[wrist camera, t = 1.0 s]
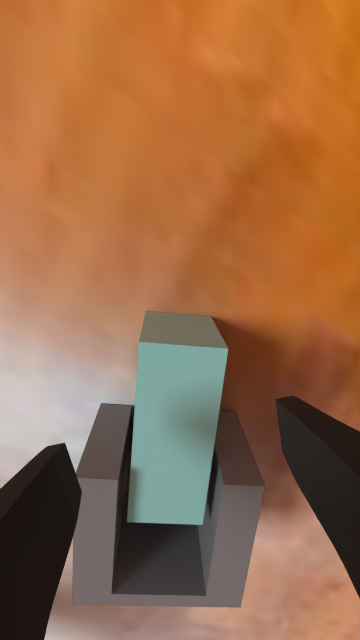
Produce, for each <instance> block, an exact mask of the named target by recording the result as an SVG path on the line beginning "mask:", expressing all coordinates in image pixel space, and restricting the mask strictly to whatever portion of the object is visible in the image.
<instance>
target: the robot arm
mask: <svg viewBox="0 0 360 640" xmlns="http://www.w3.org/2000/svg"><path fill="white" fill-rule="evenodd" d="M276 406H277V414H278V421H279V429H280V436H281V444H282V451H283V453H284V455H285V458H286V460H287V462H288V465H289V467H290V469H291V472H292V474H293V476H294V478H295V480H296V482H297V484H298V485H299V487H300V489H301V491H302V492H303V494H304V496H305V498H306V499H307V501H308V503H309V505H310V506H311V508H312V510H313V511H314V513H315V515H316V516H317V518H318V520H319V522H320V523H321V525H322V527H323V528H324V530H325V532H326V534H327V535H328V537H329V539H330V540H331V542H332V544H333V546H334V547H335V549H336V551H337V553H338V555H339V557H340V559H341V560H342V562H343V564H344V566H345V568H346V570H347V573H348V575H349V577H350V579H351V581H352V583H353V585H354V587H355V589H356V592H357V594H358V596H359V598H360V432H359V431H357V430H355V429H353V428H351V427H349V426H347V425H345V424H344V423H342V422H340V421H338V420H336V419H334V418H332V417H331V416H329V415H327V414H325V413H323V412H322V411H320V410H318V409H316V408H315V407H313V406H311V405H309V404H308V403H306V402H304V401H302V400H301V399H299V398H297V397H295V396H289V397H285V398H280V399H276ZM81 495H82V490H81V487H80V484H79V482H78V479H77V476H76V473H75V470H74V467H73V465H72V462H71V459H70V456H69V453H68V450H67V448H66V445H65V443H61V444H56V445H51V446H47V447H46V448H45V449H43V450H42V451H41V452H40V453H38V454H37V455H36V456H35V457H34V458H33V459H32V460H31V461H30V462H29V463H28V464H26V465H25V466H24V467H23V468H22V469H21V470H20V471H19V472H18V473H17V474H16V475H15V476H14V477H13V478H12V479H10V480H9V481H8V482H7V483H6V484H5V485H4V486H3V487H2V488H1V489H0V640H44V638H45V633H46V628H47V624H48V620H49V616H50V612H51V608H52V605H53V601H54V598H55V595H56V591H57V588H58V585H59V581H60V578H61V575H62V571H63V568H64V565H65V562H66V558H67V555H68V552H69V548H70V545H71V542H72V538H73V535H74V531H75V528H76V524H77V519H78V514H79V508H80V502H81Z"/></svg>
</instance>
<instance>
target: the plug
mask: <svg viewBox="0 0 360 640" xmlns="http://www.w3.org/2000/svg"><path fill="white" fill-rule="evenodd" d="M227 355H228V347H227V345H226V343H225V342H224V340H223V338H222V336H221V334H220V332H219V330H218V329H217V327H216V325H215V323H214V321H213V319H212V318H211V316H202V315H190V314H178V313H166V312H154V311H146V313H145V318H144V322H143V327H142V332H141V336H140V341H139V352H138V367H137V381H136V396H135V411H134V426H133V440H132V455H131V470H130V484H129V499H128V514H127V522H137V523H165V524H192V525H203V519H204V512H205V505H206V498H207V491H208V485H209V478H210V471H211V464H212V457H213V450H214V444H215V437H216V430H217V423H218V416H219V409H220V402H221V396H222V389H223V382H224V375H225V368H226V361H227Z"/></svg>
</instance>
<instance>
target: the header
mask: <svg viewBox="0 0 360 640" xmlns="http://www.w3.org/2000/svg"><path fill="white" fill-rule="evenodd" d="M131 406H132V405H116V404H101V405H100V407H99V410H98V413H97V416H96V419H95V421H94V424H93V427H92V430H91V432H90V435H89V438H88V441H87V443H86V446H85V449H84V452H83V455H82V457H81V460H80V463H79V466H78V468H77V471H76V476H77V479H78V482H79V484H80V487H81V490H82V495H81V502H80V508H79V514H78V519H77V524H76V528H75V531H74V535H73V592H72V605H129V606H187V607H241V602H242V597H243V592H244V587H245V583H246V578H247V573H248V568H249V563H250V558H251V553H252V548H253V543H254V538H255V533H256V528H257V523H258V519H259V514H260V509H261V504H262V499H263V494H264V489H265V485H264V483H263V480H262V478H261V475H260V473H259V470H258V468H257V465H256V462H255V460H254V457H253V455H252V452H251V450H250V447H249V445H248V442H247V440H246V437H245V434H244V432H243V429H242V427H241V424H240V422H239V419H238V417H237V414H236V412H230V411H219V416H218V423H217V430H216V437H215V444H214V450H213V457H212V464H211V471H210V478H209V485H208V491H207V498H206V505H205V512H204V519H203V525H192V524H165V523H137V522H127V514H128V499H129V495H126V483H127V468H128V452H129V437H130V422H131Z"/></svg>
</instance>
